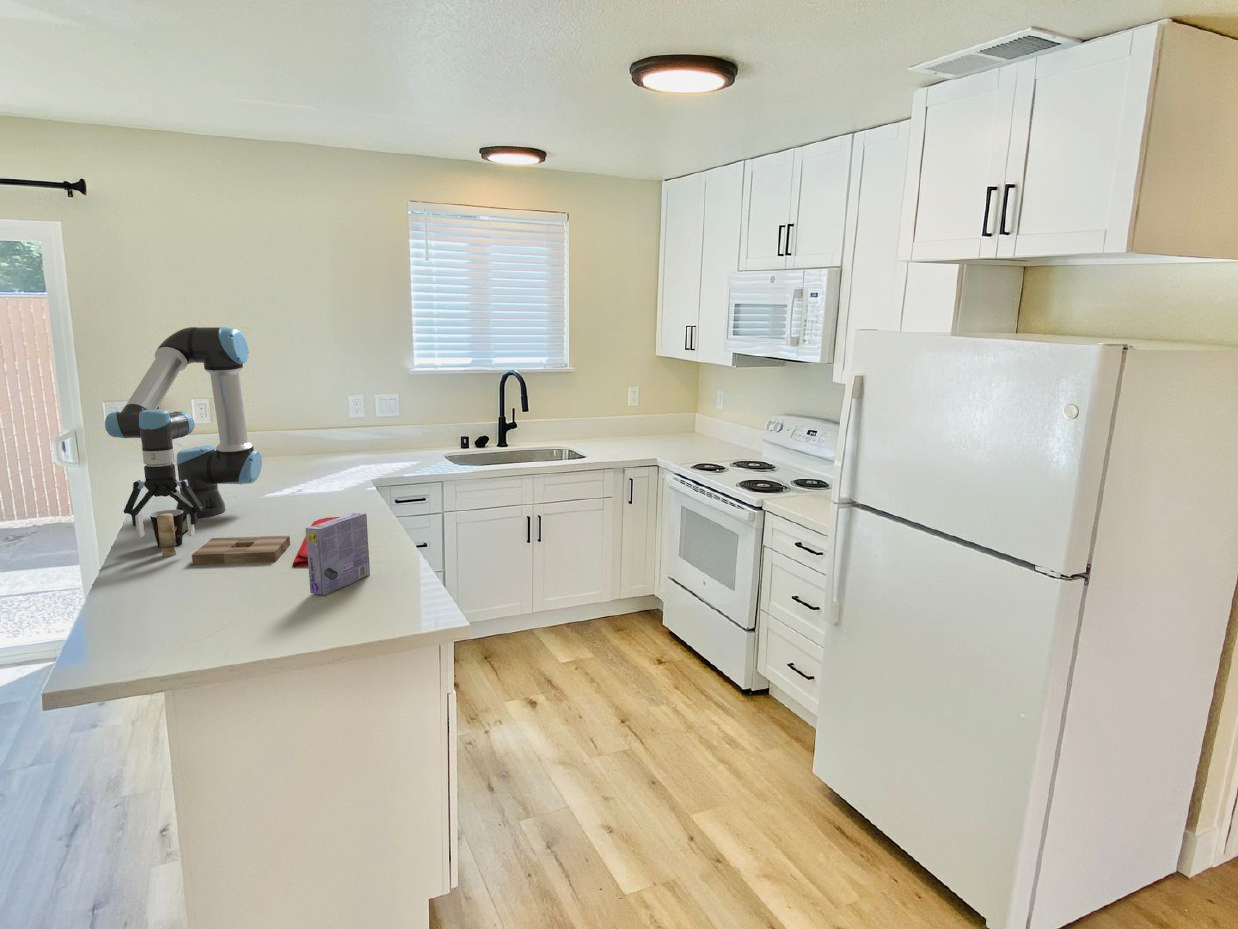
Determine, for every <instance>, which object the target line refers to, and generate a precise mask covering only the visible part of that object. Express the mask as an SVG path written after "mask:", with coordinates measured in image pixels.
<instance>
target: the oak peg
mask: <svg viewBox="0 0 1238 929" xmlns="http://www.w3.org/2000/svg"><path fill="white" fill-rule="evenodd" d="M157 523H158V532H159V541H160V547H161V548H160V549H161V556H162V558H163V557H164V558H169V557H173V556H176V553H177V552H176V547H175V546H176V540H175V530H174V521H173V514H161V515H158V516H157Z"/></svg>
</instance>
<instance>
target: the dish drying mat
mask: <svg viewBox="0 0 1238 929" xmlns="http://www.w3.org/2000/svg"><path fill="white" fill-rule="evenodd" d="M340 517H341V516H334V517H333V516H330V517H323V518H319V519H317V520H315V521H313V522H312V523H311V525H310V527H311V526H314V525H318V524H321V523H324V522H327V521H330V520H333V519H336V518H340ZM292 567H293V568H299V567H301V568H302V567H308V553H307V541H306V536H305V537H304V538H303V541H302V543H301V545H300V547H299V549H298V551H297V553H296V555H295V557H294V559H293V562H292Z"/></svg>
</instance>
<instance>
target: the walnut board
mask: <svg viewBox="0 0 1238 929" xmlns="http://www.w3.org/2000/svg"><path fill="white" fill-rule="evenodd" d="M290 546H291V538H290V535H267V536H236V537H235V536H233V537H231V536H230V537H212V538H210V539H209V540H208V541H207V542H206V543H204V544H203V545H202V546H201V547H199V548H198V549H197V550H195V551H194V553H192V554H191V559H192V566H201V565H204V566H205V565H227V564H228V565H230V564H231V565H233V564H253V563H254V564H255V563H256V564H257V563H258V564H260V563H276V562H277V561H278V560H279V559H280V558H281V556H282V555H283V554H284V553H285V552H286V551H287V549H288V548H289V547H290Z"/></svg>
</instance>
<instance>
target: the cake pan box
mask: <svg viewBox="0 0 1238 929" xmlns="http://www.w3.org/2000/svg"><path fill="white" fill-rule="evenodd" d="M339 517H340V518H336V519H333V520H330V521H327V522H324V523H321V524H318V525H314V526H311V525H310V526H308V527H305V537H306V541H307V553H308V566H307V567H308V577H309V579H308V580H309V589H310V594H313V595H318V596H323V597H325V596H327V595H329V594H331V593H333V592H335V591H337V590H339V589H343V588H345V587H347V586H350V585H352V584H354V583H355V582H357V581H359V580H361V579H363V578H365V577H369V576H370V575H371V570H370V550H369V537H368V536H369V534H368V516H367V513H366V512H351V513H349V514H346V515H343V516H339Z"/></svg>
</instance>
